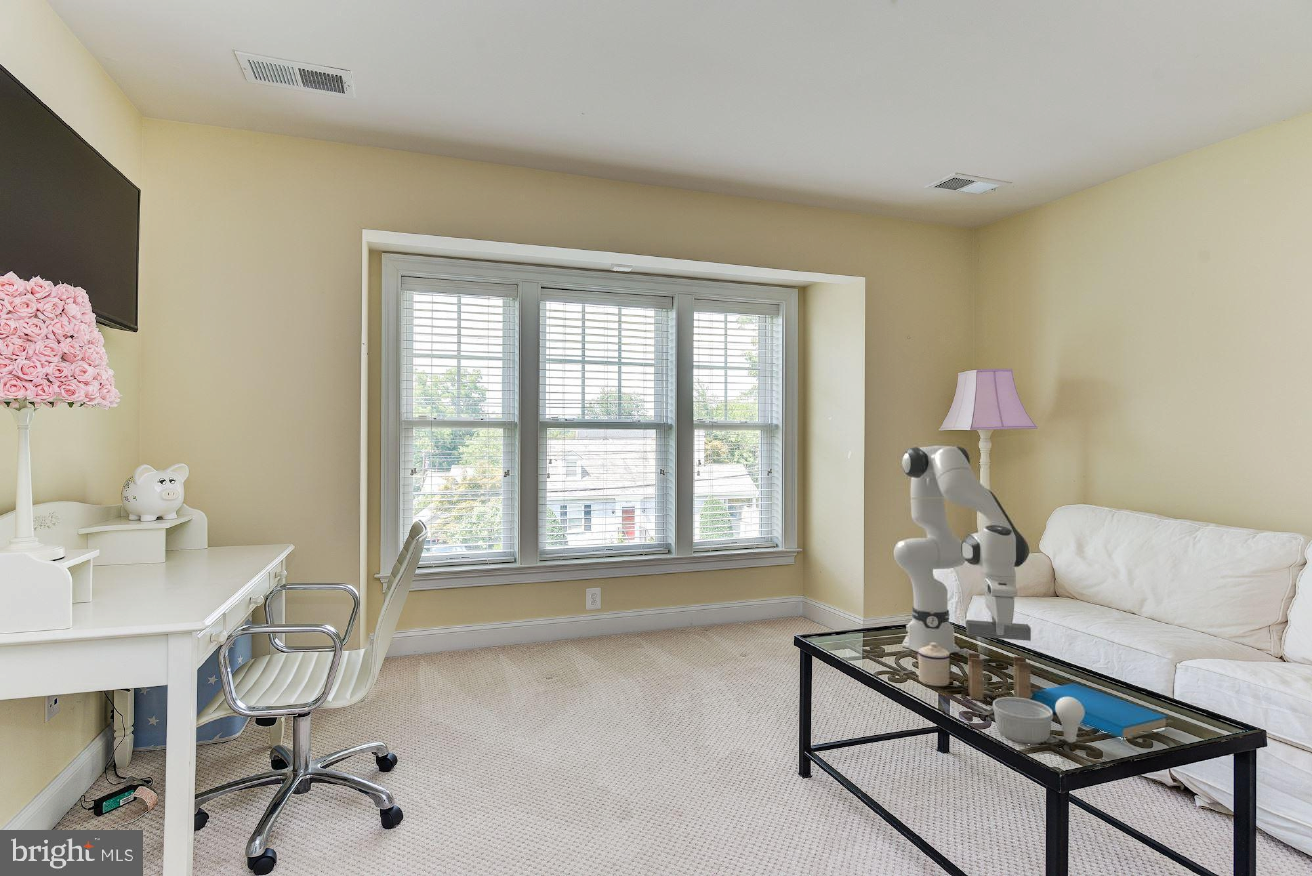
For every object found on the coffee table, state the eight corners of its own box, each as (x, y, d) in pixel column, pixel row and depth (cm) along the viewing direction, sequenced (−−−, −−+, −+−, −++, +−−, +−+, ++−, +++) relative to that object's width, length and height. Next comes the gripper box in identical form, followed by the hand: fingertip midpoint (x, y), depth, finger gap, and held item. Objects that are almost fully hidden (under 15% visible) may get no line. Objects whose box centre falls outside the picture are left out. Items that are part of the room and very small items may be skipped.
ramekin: (1012, 747, 161) (1012, 718, 161) (982, 724, 174) (981, 697, 174) (1065, 745, 162) (1065, 716, 162) (1030, 722, 175) (1030, 695, 175)
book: (1073, 682, 194) (1167, 714, 171) (1073, 697, 194) (1167, 731, 170) (1031, 691, 187) (1122, 725, 164) (1031, 707, 187) (1123, 743, 164)
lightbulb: (1050, 740, 164) (1050, 696, 164) (1063, 735, 168) (1063, 691, 168) (1076, 750, 159) (1076, 704, 159) (1089, 744, 162) (1089, 699, 162)
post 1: (968, 691, 197) (968, 652, 197) (979, 692, 196) (979, 653, 196) (971, 699, 191) (971, 658, 191) (983, 700, 190) (983, 659, 190)
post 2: (1013, 695, 193) (1013, 656, 193) (1025, 696, 192) (1025, 657, 192) (1018, 703, 187) (1018, 662, 187) (1030, 704, 186) (1030, 663, 186)
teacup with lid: (956, 685, 201) (956, 646, 201) (930, 688, 199) (930, 649, 199) (931, 671, 213) (931, 635, 213) (906, 674, 211) (905, 637, 211)
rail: (966, 632, 196) (966, 619, 196) (1027, 636, 191) (1027, 624, 191) (968, 635, 192) (968, 623, 192) (1030, 640, 188) (1030, 628, 188)
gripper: (979, 574, 202) (979, 620, 203) (992, 591, 183) (992, 641, 183) (1002, 576, 201) (1002, 622, 201) (1018, 592, 181) (1018, 643, 181)
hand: (997, 631), depth 192 cm, fingers closed on rail, 4 cm apart
